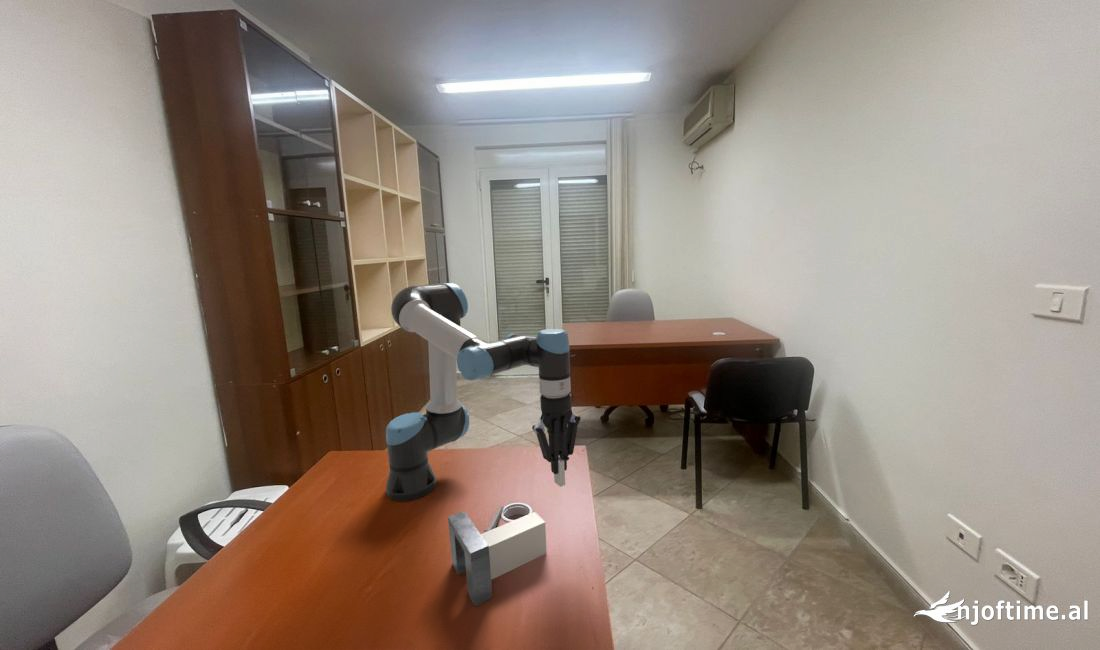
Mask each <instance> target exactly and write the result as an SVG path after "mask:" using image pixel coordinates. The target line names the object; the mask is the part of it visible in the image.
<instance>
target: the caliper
mask: <svg viewBox="0 0 1100 650" xmlns="http://www.w3.org/2000/svg"><path fill="white" fill-rule="evenodd" d="M503 511H504V506H501V505H500V506H498V508H497V510H496V512H495V513H494V516H493V518H492V520H491V522H490V524H489V525H488V526H487V529H484V530H483V533H485V532H487V531H490V530H492V529H494V528H497V527H496V526H497V524H498V523H499V521H500V518H501V516H502V513H503Z"/></svg>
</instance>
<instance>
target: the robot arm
mask: <svg viewBox="0 0 1100 650" xmlns="http://www.w3.org/2000/svg"><path fill="white" fill-rule="evenodd" d="M468 303H469V302H468V299H467V296H466V294H465V292H464V290H463V288H462V287H460V286H459V285H458V284H456V283H453V282H450V283H449V282H440V283H433V284H431V283H430V284H421V285H412V286H411V285H410V286H407V287H405V288H403V289H402V290H400V291H398V293H397V294H396V295H395V297H394V298H393V300H392V302H391V306H390V310H391V317H392V318H393V320H394V322H395V323H396V325H398V327H400V328H401V329H403V330H405V331H406V332H409V333H415V334H417V335H418V336H420V337H421V338H423V339H425V340H426V341H427V342H428V343H427V344H428V365H429V367H428V370H429V392H430V393H429V397H430V398H429V399H430V400H429V401H428V403H426V407H425V413H424V414H422V413H421V412H418V411H416V412H410V413H404V414H401V415H399V416H396V417H395V418H393V419H391V420H390V422H389V423H388V424H387V426H386V428H385V442H386V447H387V449H386V450H387V454H388V455H387V456H388V464H389V472H388V477H387V481H386V483H385V492H386V497H387V498H388V499H390V500H392V501H394V502H410V501H414V500H418V499H420V498H421V499H422V498H423V497H425V496H427V495H428V494H430V493H431V492H432V491H434V489H435V488H436V486H437V477H436V474H435V472H434V471H433V468H432V466H431V464H430V461H429V457H428V456H429V455H428V454H429V452H431V451H433V450H435V449H437V448H440V447H442V446H445V445H447V444H449V443H453V442H456V441H458V440H459V439H460V438H462V437H464V436H465V435H466V434H467V433H468V430H469V427H470V415H469V414H468V409H467V408H466V407H465V405H463V404H462V402H461V400H459V399H458V386H457V385H458V379H457V378H458V376H457V370H458V372H460V374H461V376H462V377H463V378H464V379H466V380H469V381H475V380H478V379H480V380H481V379H485V378H487V377H489V376H490V377H491V376H493V375H497V374H499V373H502V372H505V371H509V370H512V369H516V368H520V367H522V366H529V367H534V368H538V377H539V379H538V380H539V381H538V383H539V393H540V395H539V396H540V397H539V399H540V409H541V410H540V411H541V416H540V419H539V420H540V421H539V422H538V423H537V424H534V425H532V427H531V429H532V430H533V432H534V433H535V435H536V437H537V441H538V445H539V448H540V450H541V454H542V457H543V459H544V460H546V461H547V462H548V463H550V469H551V473H553V478H554V480H553V481H554V483H555V484H556V485H557V486H559V487H560V488H561V487H563V486H565V485H566V473H565V472H566V471H567V469H568V461H569V460H570V457H569V456H570V455H573V454H574V450H575V444H576V437H577V432H578V431H577V430H578V426H579V423H580V421H581V415H578V414H576V413H573V410H572V408H573V407H572V405H573V404H572V394H571V393H570V392H571V391H572V388H571V387H572V386H571V370H570V366H571V365H570V359H571V358H570V355H571V354H570V353H571V351H570V350H571V347H570V342H569V341H570V339H569V334H568V332H567V331H566V330H565V329H563V328H562V329H561V328H547V329H542V330H539V331H538V332H537V333H536V336H535V335H529V334H525V333H524V334H523V333H520V332H519V333H509V334H507V335H506V336H505V337H504V338H503V339H498V340H495V341H490V342H489V341H488V342H487V341H486V340H484V339H482V338H480V337H478V336H477V335H475V334H474V333H472V332H470V331H468V330H466V329H465V328H463V327H461V319H463V318H464V317H466V315H467V313H468V310H469V305H468ZM545 428H546V430H547V431H546V430H545ZM545 432H547V433H548V434H547V435H548V439H547V435H546V433H545Z"/></svg>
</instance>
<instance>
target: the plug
mask: <svg viewBox="0 0 1100 650" xmlns="http://www.w3.org/2000/svg"><path fill="white" fill-rule="evenodd" d="M480 534H481V535H482V537H483V538H484V540H485V541H486V543H487V544H488V546H489V558H490V572H491V581H492V580H494V579H497V578H498V577H500V576H502V575H504V574H507V573H509V572H511V571H512V570H515V569H517V568H518V567H521V566H523V565H525V564H527V563H529V562H531V561H533V560H536V559H537V558H540V557H542V556H544V555H546V554H547V553H548V551H547V532H546V522H545V520H544V519H543V518H542V517H541V516H540V515H539V514H538V513H537V512H536V511H534V512H531V513H528V514H526V515H524V516H521V517H518V518H516V519H514V520H512V521H509V522H507V523H504V524H501V525H499V526H498V527H495V528H494V529H492V530H490V531H487V532H485V533H484V532H482V533H480Z"/></svg>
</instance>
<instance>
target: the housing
mask: <svg viewBox="0 0 1100 650" xmlns="http://www.w3.org/2000/svg"><path fill="white" fill-rule="evenodd" d="M447 520H448V521H447V523H448V533H449V544H450V545H449V546H450V553H451V554H450V555H451V564H452V566H453V569H454V570H455V572H456V574H457V575H460V574H463V573H465V575H466V577H465V578H466V586H467V587H466V588H467V595H468V596H469V598H470V600H471V602H472V604H473V606H474V607H476V606H477V607H478V606H479V605H481V604H482V603H485V602H487V601H488V600H490V599H492V598H493V588H492V580H491V572H490V558H489V546H488V544H487V543H486V541H485V540H484V538H483V537H482V535H481V534H482V533H481V532H480V531H479V530H478V528H477V527H476V525H475V524H474V523H473V521H472V520H471V519H470V517H469V516H468V513H466V511H465V510H462V511H459V512H457V513H455V514H452V515H449V516H447Z"/></svg>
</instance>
